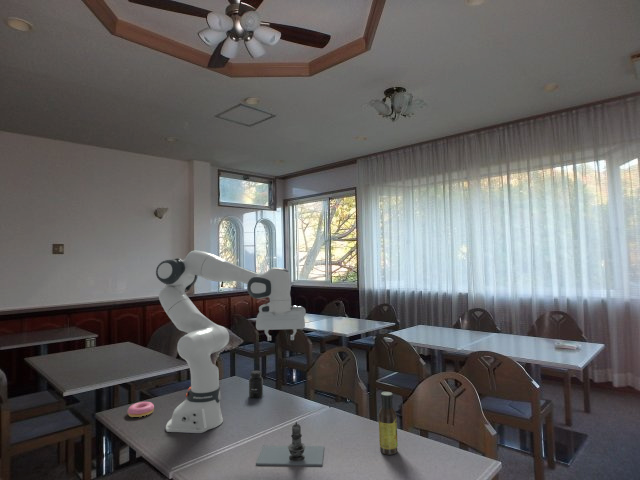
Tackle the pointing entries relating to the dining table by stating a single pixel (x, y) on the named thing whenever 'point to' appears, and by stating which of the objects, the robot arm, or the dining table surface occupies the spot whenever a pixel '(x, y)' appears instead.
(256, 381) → the supplement bottle
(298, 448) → the dark carved figurine
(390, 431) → the sauce bottle
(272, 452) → the mat
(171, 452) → the dining table surface
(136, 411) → the doughnut
